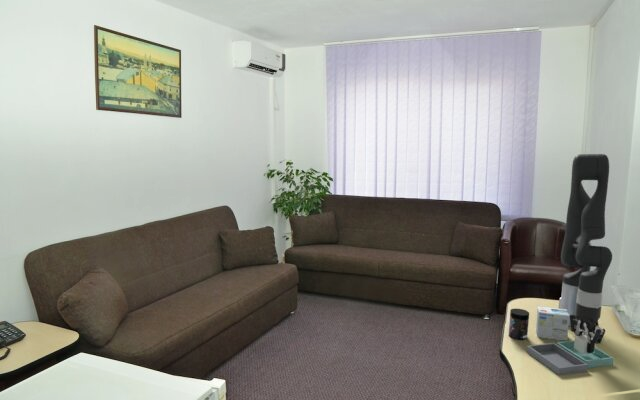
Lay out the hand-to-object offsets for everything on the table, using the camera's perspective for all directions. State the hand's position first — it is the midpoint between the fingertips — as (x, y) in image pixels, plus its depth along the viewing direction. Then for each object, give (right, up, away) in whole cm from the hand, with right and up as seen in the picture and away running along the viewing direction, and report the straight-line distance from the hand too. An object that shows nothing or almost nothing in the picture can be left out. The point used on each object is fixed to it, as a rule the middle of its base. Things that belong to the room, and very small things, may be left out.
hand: (584, 349), depth 164 cm
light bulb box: (-3, -1, +17) cm, 17 cm away
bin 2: (0, -3, 0) cm, 3 cm away
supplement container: (-16, -1, +16) cm, 23 cm away
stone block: (0, -1, 0) cm, 1 cm away
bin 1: (-11, -4, -3) cm, 12 cm away
